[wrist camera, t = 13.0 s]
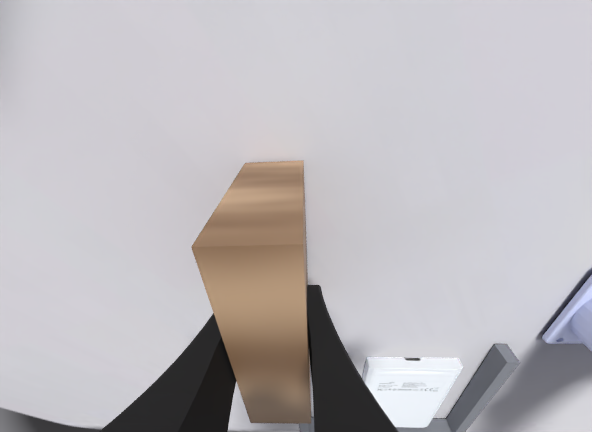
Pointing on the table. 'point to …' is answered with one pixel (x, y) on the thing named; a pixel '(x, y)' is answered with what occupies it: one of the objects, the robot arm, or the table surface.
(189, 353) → the robot arm
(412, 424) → the external hard drive
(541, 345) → the table surface
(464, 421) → the dock frame
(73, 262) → the table surface
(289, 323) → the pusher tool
